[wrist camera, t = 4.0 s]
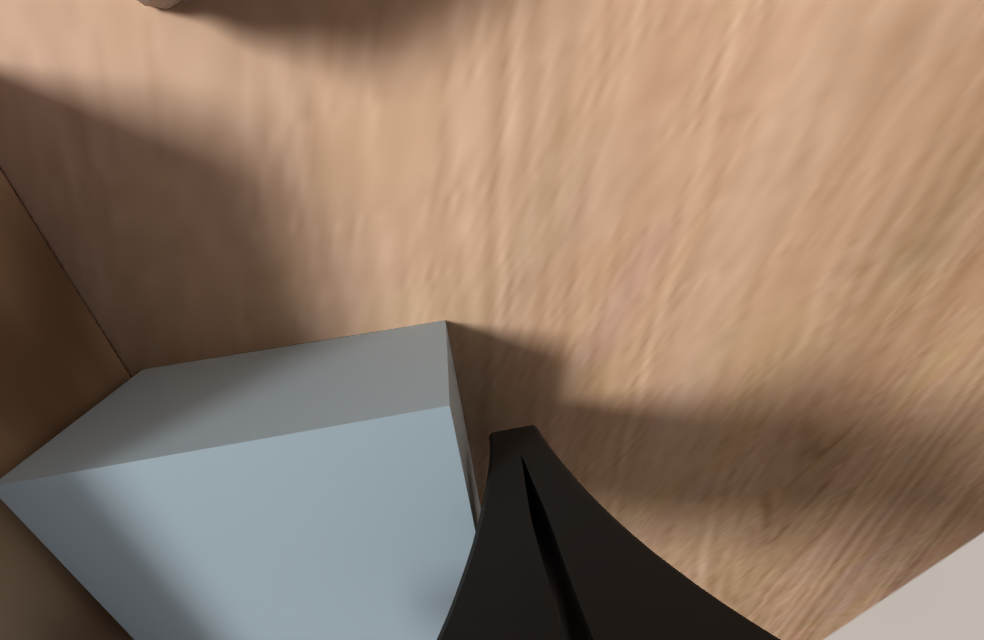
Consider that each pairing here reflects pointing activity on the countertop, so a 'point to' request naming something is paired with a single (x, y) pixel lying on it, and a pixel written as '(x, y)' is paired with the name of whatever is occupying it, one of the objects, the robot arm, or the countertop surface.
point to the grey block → (267, 493)
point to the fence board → (44, 422)
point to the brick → (161, 3)
